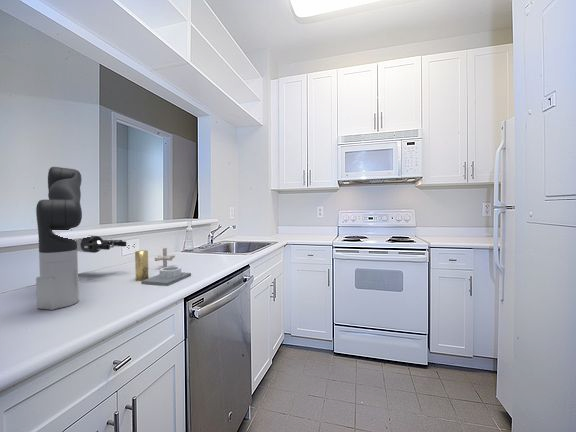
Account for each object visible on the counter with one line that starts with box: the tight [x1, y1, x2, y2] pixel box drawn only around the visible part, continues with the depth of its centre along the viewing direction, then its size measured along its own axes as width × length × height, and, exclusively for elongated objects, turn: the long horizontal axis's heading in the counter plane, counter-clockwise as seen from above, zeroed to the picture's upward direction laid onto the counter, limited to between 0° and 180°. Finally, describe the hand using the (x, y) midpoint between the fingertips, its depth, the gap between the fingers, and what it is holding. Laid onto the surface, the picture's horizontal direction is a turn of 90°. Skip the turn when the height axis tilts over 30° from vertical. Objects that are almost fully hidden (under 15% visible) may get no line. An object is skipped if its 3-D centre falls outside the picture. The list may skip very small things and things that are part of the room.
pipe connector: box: [154, 247, 176, 268], centre depth 136 cm, size 10×10×10 cm
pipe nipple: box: [134, 249, 149, 282], centre depth 115 cm, size 5×5×12 cm
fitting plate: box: [140, 265, 192, 287], centre depth 114 cm, size 16×12×4 cm
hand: (117, 245), depth 118 cm, fingers open, 8 cm apart
